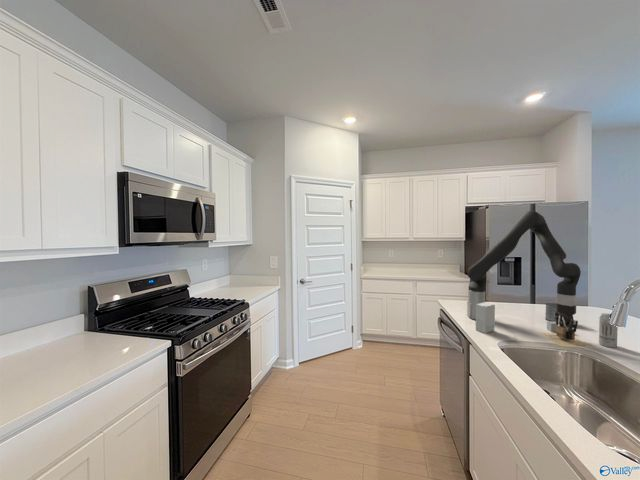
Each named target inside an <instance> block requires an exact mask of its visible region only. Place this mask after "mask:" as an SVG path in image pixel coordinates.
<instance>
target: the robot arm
mask: <svg viewBox="0 0 640 480" xmlns="http://www.w3.org/2000/svg"><path fill="white" fill-rule="evenodd" d="M549 228H550V227H549V226H548V224H547V221H546V219H545V217H544V216H543V215H542V214H541V213H539V212H537V211H535V210H529V211H527V212H524V213H523V214H522V215H521V216H520V217H519V218H518V220H516V222H515V223H513V225H512V226H511V228H510V229H509V230H507V232H505V233H504V234H503V236H502V237H501V238H500V239H498V240H497V241H496V242H495V243H494V244H493V245H492V246H491V247H490V248H489V249H488V250H487V252H486V253H485V254H484V255H483V257H482V258H480V260H478V261H477V262H476V263H474V264H473V265H472V266H470V267H469V268H468V270H467V276H468V278H469V284H468V300H467V302H466V303H467V304H466V306H467V307H466V309H467V310H466V311H467V312H466V317H468V318H469V319H471V320H472V319H473V320H476V304H480V303H484V302H486V289H487V288H486V287H487V273H488V272H489V270H490V269H492V268H493V267H494V266H495V265H497V264H498V263H500V262H501V261H503V260H504V259H505V258H507V257H508V256H509V255H510V254H511V253H512V252H514V251H515V249H516V248H517V245H518V243H519V241H520V239H521V237H522V236H523V235H524V234H525V233H526V232H527V231H529V230H531V231H532V232H533V234H534V235H536V237H537V238H538V241H539V242H540V246H541V247H542V250H543V252H544V253H545V255H546V256H547V257H548V259H549V263H550V266H551V269H552V272H553V273H554V275H556V276H557V277H558V278H561V279H562V278H563V280H562V281H559V282H558V283H557V285H556V297H555V298H556V300H555V303H556V311H557V312H559V313H555V321H556V325H558V326H565V327H566V339H572V332H575V333H577V329H578V323H579V321H578V320H575V319H574V315H575V314H577V285H578V283H579V280H580V278H581V272H582V271H581V268H580V266H579V265H578V264H576V263H573V262H566V263H565V262H564V260H565V259H566V258H567V253H566V252H565V251H564V249H563V248H562V246H561V245H560V243H559V242H558V240H557V239H556V238H555V237H554V235H553V234H552V232H551V230H550V229H549ZM558 317H559V318H558ZM567 324H569V325H567ZM568 327H569V329H568Z"/></svg>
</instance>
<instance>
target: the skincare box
mask: <svg viewBox="0 0 640 480" xmlns="http://www.w3.org/2000/svg"><path fill="white" fill-rule="evenodd" d="M495 313H496V304H493V303H489V302H486V301H485V302H484V303H480V304H476V319H475V331H478V332H480V333H483V334H489V333H491V332H495V325H496V324H495V319H496V317H495V315H496V314H495Z"/></svg>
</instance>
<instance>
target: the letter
mask: <svg viewBox="0 0 640 480" xmlns="http://www.w3.org/2000/svg"><path fill="white" fill-rule="evenodd" d="M539 333H540V334H541V335H542V336H544V337H545V338H547V339H549V340H550V341H551V342H554V344H556V345H558V346H560V347H568V348H569V347H570V348H581V349H582V348H583V349H595V350H596V348H595V347H594V346H591V345H590V344H588V343H586V342H585V341H582V340H581V339H579V338H577V337H575V340H566V339H561V338H560V337H558V336H556V332H539Z"/></svg>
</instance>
